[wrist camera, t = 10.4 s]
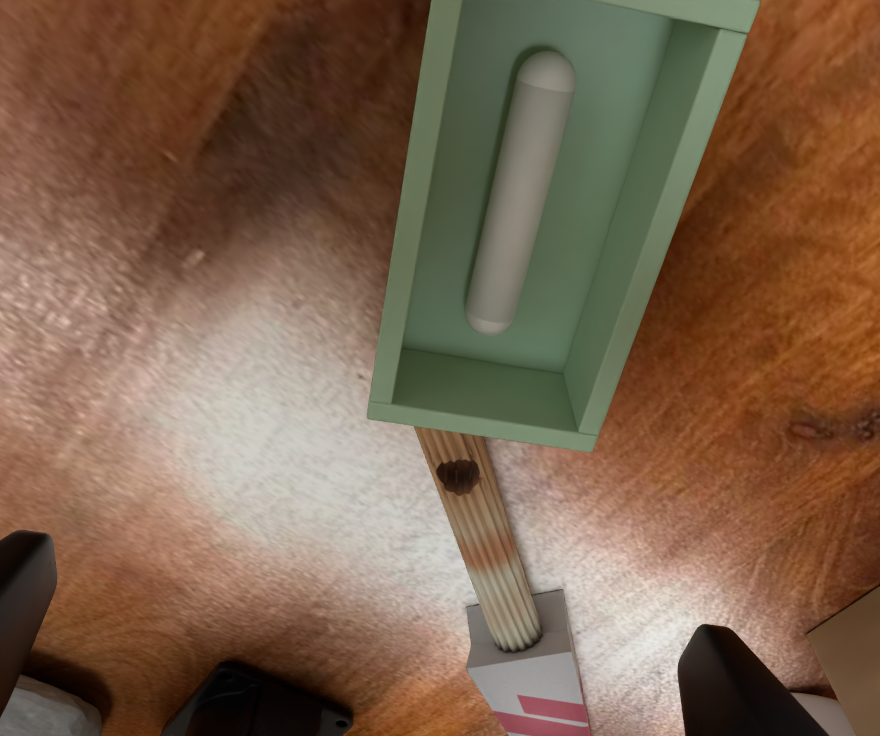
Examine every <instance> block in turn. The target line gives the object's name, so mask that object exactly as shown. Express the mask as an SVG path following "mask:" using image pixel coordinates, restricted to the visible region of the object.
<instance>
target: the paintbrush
mask: <svg viewBox="0 0 880 736" xmlns="http://www.w3.org/2000/svg"><path fill="white" fill-rule="evenodd" d="M414 428H415V431H416V433H417V436H418V439H419V441H420V444H421V447H422V449H423V452H424V455H425V458H426V460H427V463H428V466H429V468H430V471H431V474H432V476H433V479H434V482H435V484H436V487H437V490H438V493H439V495H440V498H441V501H442V503H443V506H444V509H445V511H446V514H447V517H448V519H449V522H450V525H451V528H452V530H453V533H454V536H455V538H456V541H457V544H458V546H459V549H460V552H461V554H462V557H463V560H464V562H465V565H466V568H467V571H468V573H469V576H470V579H471V581H472V584H473V586H474V589H475V592H476V594H477V597H478V599H479V602H480V605H477V606H471V607H466V609H467V616H468V624H469V631H470V639H471V648H470V653H469V657H468V661H467V666H466V670H467V672H468V673H469V675H470V676H471V678H472V679H473V681H474V682H475V684H476V686H477V687H478V689H479V690H480V692H481V693H482V695H483V696H484V698H485V699H486V701H487V703H488V704H489V706H490V707H491V709H492V710H493V712H494V713H495V715H496V717H497V718H498V720H499V721H500V723H501V724H502V726H503V727H504V729H505V730H506V732H507V734H508V735H509V736H592V734H591V729H590V724H589V719H588V714H587V709H586V704H585V699H584V694H583V689H582V684H581V679H580V674H579V669H578V664H577V659H576V654H575V649H574V644H573V638H572V633H571V628H570V623H569V618H568V613H567V608H566V603H565V598H564V593H563V590H560V591H555V592H549V593H544V594H538V595H532V596H531V593H530V590H529V587H528V584H527V581H526V578H525V574H524V571H523V568H522V565H521V562H520V559H519V556H518V553H517V550H516V546H515V543H514V540H513V536H512V533H511V530H510V526H509V523H508V519H507V516H506V513H505V509H504V506H503V503H502V499H501V496H500V493H499V489H498V486H497V483H496V479H495V476H494V473H493V469H492V466H491V463H490V460H489V456H488V453H487V450H486V446H485V443H484V440H483V436H477V435H471V434H464V433H457V432H451V431H444V430H437V429H431V428H424V427H418V426H414ZM460 458H463V459H465V460H464V461H462V460H459V459H460ZM451 459H452V460H455V462H452V461H450V460H451Z"/></svg>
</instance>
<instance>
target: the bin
mask: <svg viewBox="0 0 880 736" xmlns="http://www.w3.org/2000/svg"><path fill="white" fill-rule="evenodd" d="M759 5H760V0H431V5H430V12H429V18H428V25H427V31H426V37H425V44H424V50H423V57H422V63H421V69H420V76H419V82H418V89H417V95H416V102H415V108H414V114H413V121H412V127H411V134H410V140H409V146H408V153H407V159H406V166H405V172H404V178H403V185H402V191H401V198H400V204H399V210H398V217H397V223H396V230H395V236H394V243H393V249H392V255H391V262H390V268H389V275H388V281H387V287H386V294H385V300H384V307H383V313H382V319H381V326H380V332H379V339H378V345H377V352H376V358H375V364H374V371H373V377H372V384H371V390H370V396H369V403H368V409H367V419H371V420H378V421H384V422H391V423H398V424H404V425H411V426H418V427H424V428H431V429H437V430H444V431H451V432H457V433H464V434H471V435H477V436H484V437H490V438H497V439H504V440H510V441H517V442H524V443H530V444H537V445H543V446H550V447H557V448H563V449H570V450H577V451H583V452H592V451H593V449H594V446H595V443H596V441H597V438H598V434H599V433H600V430H601V427H602V425H603V422H604V419H605V417H606V414H607V411H608V409H609V406H610V403H611V400H612V398H613V395H614V392H615V390H616V387H617V384H618V382H619V379H620V376H621V374H622V371H623V368H624V366H625V363H626V360H627V358H628V355H629V352H630V349H631V347H632V344H633V341H634V339H635V336H636V333H637V331H638V328H639V325H640V323H641V320H642V317H643V315H644V312H645V309H646V307H647V304H648V301H649V299H650V296H651V293H652V290H653V288H654V285H655V282H656V280H657V277H658V274H659V272H660V269H661V266H662V264H663V261H664V258H665V256H666V253H667V250H668V248H669V245H670V242H671V239H672V237H673V234H674V231H675V229H676V226H677V223H678V221H679V218H680V215H681V213H682V210H683V207H684V205H685V202H686V199H687V197H688V194H689V191H690V189H691V186H692V183H693V180H694V178H695V175H696V172H697V170H698V167H699V164H700V162H701V159H702V156H703V154H704V151H705V148H706V146H707V143H708V140H709V138H710V135H711V132H712V129H713V127H714V124H715V121H716V119H717V116H718V113H719V111H720V108H721V105H722V103H723V100H724V97H725V95H726V92H727V89H728V87H729V84H730V81H731V79H732V76H733V73H734V70H735V68H736V65H737V62H738V60H739V57H740V54H741V52H742V49H743V46H744V44H745V41H746V38H747V35H746V34H745V33H749V31H750V29H751V26H752V24H753V21H754V18H755V15H756V13H757V10H758V7H759ZM541 51H554V52H558V53H560V54H562V55H564V56H565V57H566V58H567V59H568V60H569V61H570V62H571V64H572V65H573V67H574V70H575V73H576V81H577V84H576V90H575V94H574V98H573V102H572V105H571V109H570V113H569V117H568V120H567V124H566V128H565V132H564V135H563V139H562V143H561V147H560V150H559V154H558V158H557V162H556V165H555V169H554V173H553V177H552V180H551V184H550V188H549V192H548V195H547V199H546V203H545V207H544V210H543V214H542V218H541V222H540V225H539V229H538V233H537V237H536V240H535V244H534V248H533V252H532V255H531V259H530V263H529V267H528V270H527V274H526V278H525V282H524V285H523V289H522V293H521V297H520V300H519V304H518V308H517V312H516V315H515V318H514V321H513V323H512V324H511V326H510V327H509V328H508V329H507V330H505V331H504V332H502V333H500V334H497V335H484V334H481V333H479V332H477V331H475V330H474V329H473V328H472V327H471V326H470V324H469V323H468V321H467V318H466V313H465V306H466V301H467V297H468V292H469V288H470V283H471V279H472V274H473V270H474V265H475V261H476V256H477V252H478V247H479V243H480V238H481V234H482V229H483V225H484V220H485V216H486V212H487V207H488V203H489V198H490V194H491V189H492V185H493V180H494V176H495V171H496V167H497V162H498V158H499V153H500V149H501V144H502V140H503V135H504V131H505V126H506V122H507V118H508V113H509V109H510V104H511V100H512V95H513V91H514V86H515V82H516V77H517V74H518V71H519V69H520V67H521V66H522V64H523V63H524V62H525V61H526V60H527V59H528V58H529V57H530V56H532V55H533V54H535V53H538V52H541Z"/></svg>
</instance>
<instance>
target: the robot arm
mask: <svg viewBox="0 0 880 736" xmlns="http://www.w3.org/2000/svg"><path fill="white" fill-rule="evenodd" d="M56 585H57V568H56V560H55V552H54V544H53V539H52V537H51V536H50V535H49V534H47V533H42V532H35V531H27V530H18V531H15V532H13V533H11V534H9V535H8V536H6V537H5V538H3V539H2V540H0V718H1V716H2V714H3V712H4V710H5V708H6V706H7V704H8V702H9V700H10V697H11V695H12V693H13V691H14V688H15V686H16V684H17V681H18V679H19V677H20V674H21V672H22V669H23V667H24V665H25V662H26V660H27V657H28V655H29V653H30V650H31V648H32V645H33V643H34V641H35V638H36V636H37V633H38V631H39V629H40V626H41V624H42V621H43V619H44V617H45V614H46V612H47V609H48V607H49V605H50V602H51V600H52V597H53V595H54V592H55V589H56ZM678 682H679V690H680V697H681V705H682V713H683V720H684V728H685V736H830V735H829V734H828V733H827V732H826V731H825V730H824V729H823V728H822V727H821V726H820V725H819V723H818V722H817V721H816V720H815V719H814V718H813V717H812V716H811V715H810V714H809V713H808V711H807V710H806V709H805V708H804V707H803V706H802V705H801V704H800V703H799V702H798V701H797V700H796V698H795V697H794V696H793V695H792V694H791V693H790V692H789V691H788V690H787V689H786V688H785V687H784V685H783V684H782V683H781V682H780V681H779V680H778V679H777V678H776V677H775V676H774V675H773V673H772V672H771V671H770V670H769V669H768V668H767V667H766V666H765V665H764V664H763V663H762V662H761V660H760V659H759V658H758V657H757V656H756V655H755V654H754V653H753V652H752V651H751V650H750V649H749V647H748V646H747V645H746V644H745V643H744V642H743V641H742V640H741V639H740V638H739V637H738V635H737V634H736V633H735V632H734V631H732V630H731V629H730V628H727V627H724V626H716V625H709V624H702V625H701V626H699V627H698V628H697V629H696V631H695V633H694V634H693V636H692V638H691V640H690V641H689V643H688V645H687V647H686V648H685V650H684V652H683V654H682V655H681V657H680V660H679V663H678ZM353 719H354V714H353V713H352V711H350V710H348V709H346V708H343V707H341V706H338V705H336V704H334V703H331V702H329V701H326V700H324V699H321V698H319V697H317V696H314V695H312V694H309V693H307V692H304V691H302V690H300V689H297V688H295V687H292V686H290V685H287V684H285V683H283V682H280V681H278V680H275V679H273V678H270V677H268V676H266V675H263V674H261V673H258V672H256V671H254V670H251V669H249V668H246V667H244V666H241V665H239V664H237V663H234V662H230V661H224V662H220V663H219V664H218V665H217V666H216V667H215V668H214V669H213V671H212V672H211V673H210V674H209V675H208V676H207V677H206V679H205V680H204V681H203V682H202V683H201V684H200V686H199V687H198V688H197V689H196V690H195V691H194V692H193V694H192V695H191V696H190V697H189V698H188V699H187V701H186V702H185V703H184V704H183V705H182V706H181V707H180V709H179V710H178V711H177V712H176V713H175V714H174V715H173V717H172V718H171V719H170V720H169V721H168V722H167V724H166V725H165V726H164V727H163V729H162V732H161V735H160V736H343V735H344V734H345V733H346V732H347V731H348V730H349V729H350V728H351V727H352V726H353Z"/></svg>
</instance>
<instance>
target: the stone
mask: <svg viewBox="0 0 880 736" xmlns="http://www.w3.org/2000/svg"><path fill="white" fill-rule="evenodd" d="M101 734H102V726H101V716H100V712H99V711H98V709H97V708H96V707H94V706H93V705H91V704H89V703H87V702H84V701H83V700H82V699H81V698H80V697H78V696H75V695H73V694H70V693H67V692H65V691H63V690H61V689H59V688H56V687H54V686H52V685H49V684H46V683H43V682H39V681H37V680H35V679H33V678H30V677H27V676H25V675H22V674H20V677H19V679H18V681H17V684H16V686H15V688H14V691H13V693H12V695H11V697H10V700H9V702H8V704H7V706H6V708H5V710H4V712H3V714H2V716H1V718H0V736H101Z"/></svg>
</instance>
